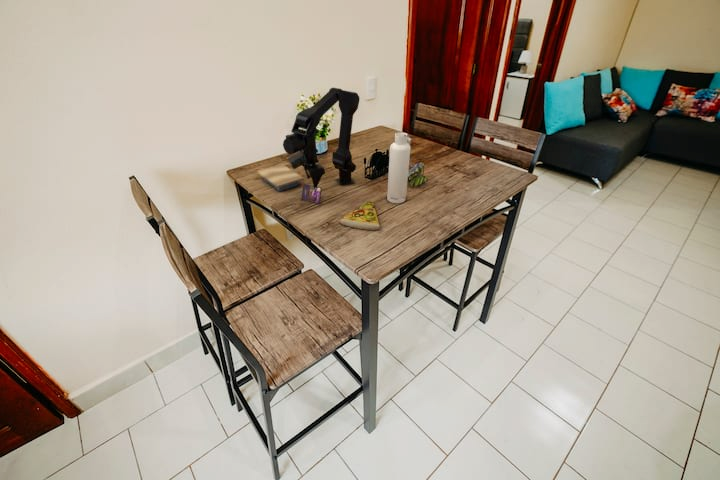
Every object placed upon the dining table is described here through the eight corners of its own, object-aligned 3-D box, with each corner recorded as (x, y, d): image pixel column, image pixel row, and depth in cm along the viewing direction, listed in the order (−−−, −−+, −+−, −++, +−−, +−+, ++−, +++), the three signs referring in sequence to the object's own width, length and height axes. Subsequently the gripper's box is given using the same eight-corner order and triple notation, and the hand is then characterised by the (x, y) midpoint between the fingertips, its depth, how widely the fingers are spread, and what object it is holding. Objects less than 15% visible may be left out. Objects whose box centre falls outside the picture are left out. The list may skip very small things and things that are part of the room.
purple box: (302, 183, 142) (320, 188, 139) (308, 182, 146) (326, 187, 143) (300, 199, 144) (318, 203, 141) (307, 197, 148) (324, 202, 145)
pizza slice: (338, 226, 128) (338, 219, 126) (354, 200, 144) (354, 194, 142) (378, 232, 124) (378, 225, 123) (389, 205, 141) (390, 199, 139)
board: (303, 179, 153) (303, 177, 153) (278, 187, 147) (277, 185, 146) (281, 165, 166) (281, 163, 165) (257, 172, 159) (256, 170, 158)
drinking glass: (411, 158, 181) (413, 140, 175) (400, 160, 179) (401, 141, 173) (405, 153, 186) (407, 136, 180) (394, 155, 184) (396, 137, 178)
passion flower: (407, 190, 163) (407, 165, 163) (429, 189, 159) (430, 164, 159) (402, 186, 152) (402, 160, 152) (426, 185, 149) (426, 158, 149)
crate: (298, 184, 156) (298, 178, 154) (279, 191, 150) (278, 185, 149) (281, 173, 165) (280, 167, 164) (263, 179, 160) (262, 173, 158)
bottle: (383, 195, 147) (387, 132, 131) (400, 192, 150) (405, 129, 133) (391, 204, 141) (396, 139, 125) (409, 201, 143) (415, 136, 127)
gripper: (282, 141, 135) (287, 177, 144) (294, 158, 121) (299, 196, 131) (309, 137, 139) (312, 172, 148) (324, 153, 125) (326, 191, 134)
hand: (312, 182), depth 140 cm, fingers open, 9 cm apart
